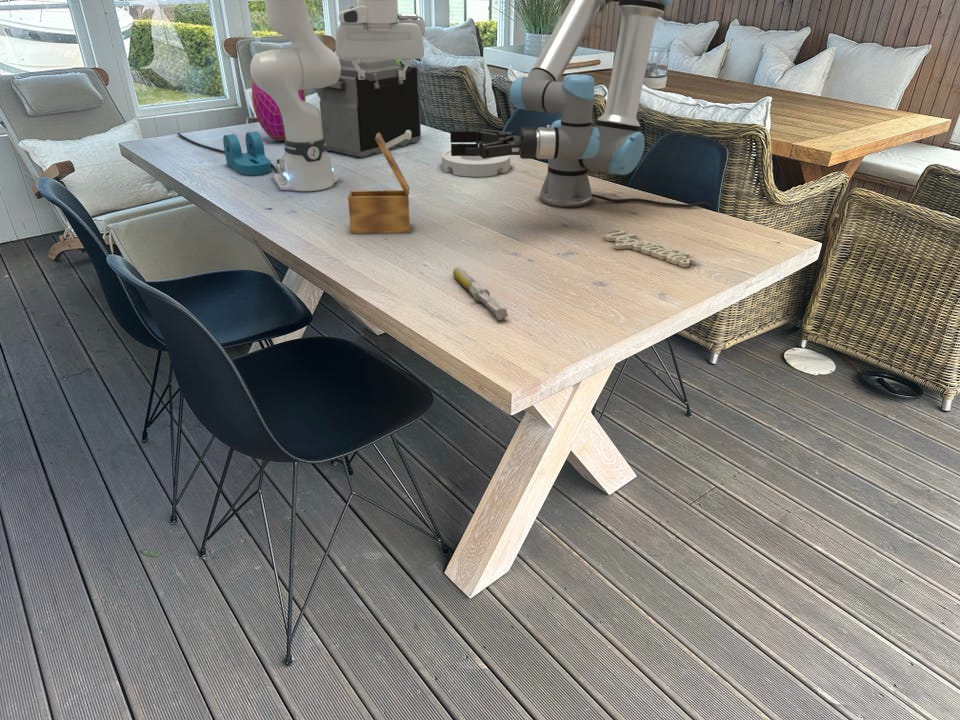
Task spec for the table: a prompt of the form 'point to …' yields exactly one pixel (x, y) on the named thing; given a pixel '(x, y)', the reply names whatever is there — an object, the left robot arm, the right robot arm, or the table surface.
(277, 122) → the decorative egg
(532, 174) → the table surface
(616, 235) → the decorative sign
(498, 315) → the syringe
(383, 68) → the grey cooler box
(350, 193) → the chest
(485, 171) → the ashtray
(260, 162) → the camera mount
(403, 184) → the lid
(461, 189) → the table surface
